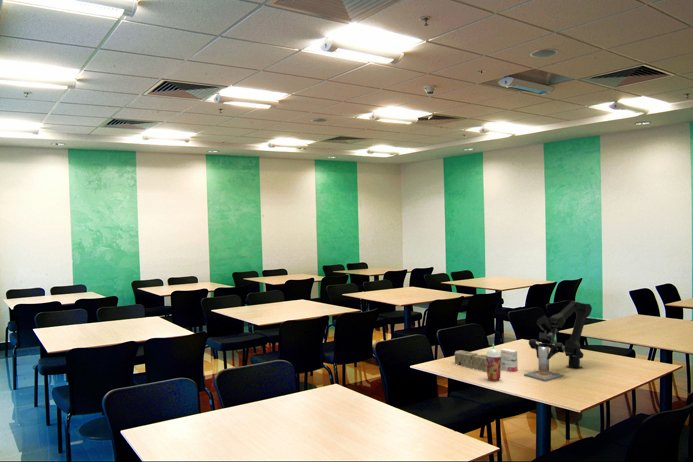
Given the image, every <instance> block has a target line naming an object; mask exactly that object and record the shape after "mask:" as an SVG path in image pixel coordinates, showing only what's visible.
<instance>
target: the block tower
mask: <svg viewBox="0 0 693 462" xmlns="http://www.w3.org/2000/svg"><path fill="white" fill-rule="evenodd" d="M454 364H457V365H456V366H461V367H464V366H465V368H469V369H473V368H474V370H477V369H478V370H477V371H481V370H482V371H483V372H486V373H487V365H486V354H478V353H475V352H471V351H466V350H461V349H460V350H455V352H454ZM482 371H481V372H482Z"/></svg>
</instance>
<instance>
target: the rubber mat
mask: <svg viewBox="0 0 693 462" xmlns="http://www.w3.org/2000/svg"><path fill="white" fill-rule="evenodd" d="M523 376H524V377H526V378H531V379H535V380H538V381H542V382H549V381H552V380H556V379H561V378H564V376H565V375H564V374H561V373H557V372H553V371H550V370H549V371H540V370H539V369H538V370H535V371H531V372H526V373H523Z"/></svg>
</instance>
